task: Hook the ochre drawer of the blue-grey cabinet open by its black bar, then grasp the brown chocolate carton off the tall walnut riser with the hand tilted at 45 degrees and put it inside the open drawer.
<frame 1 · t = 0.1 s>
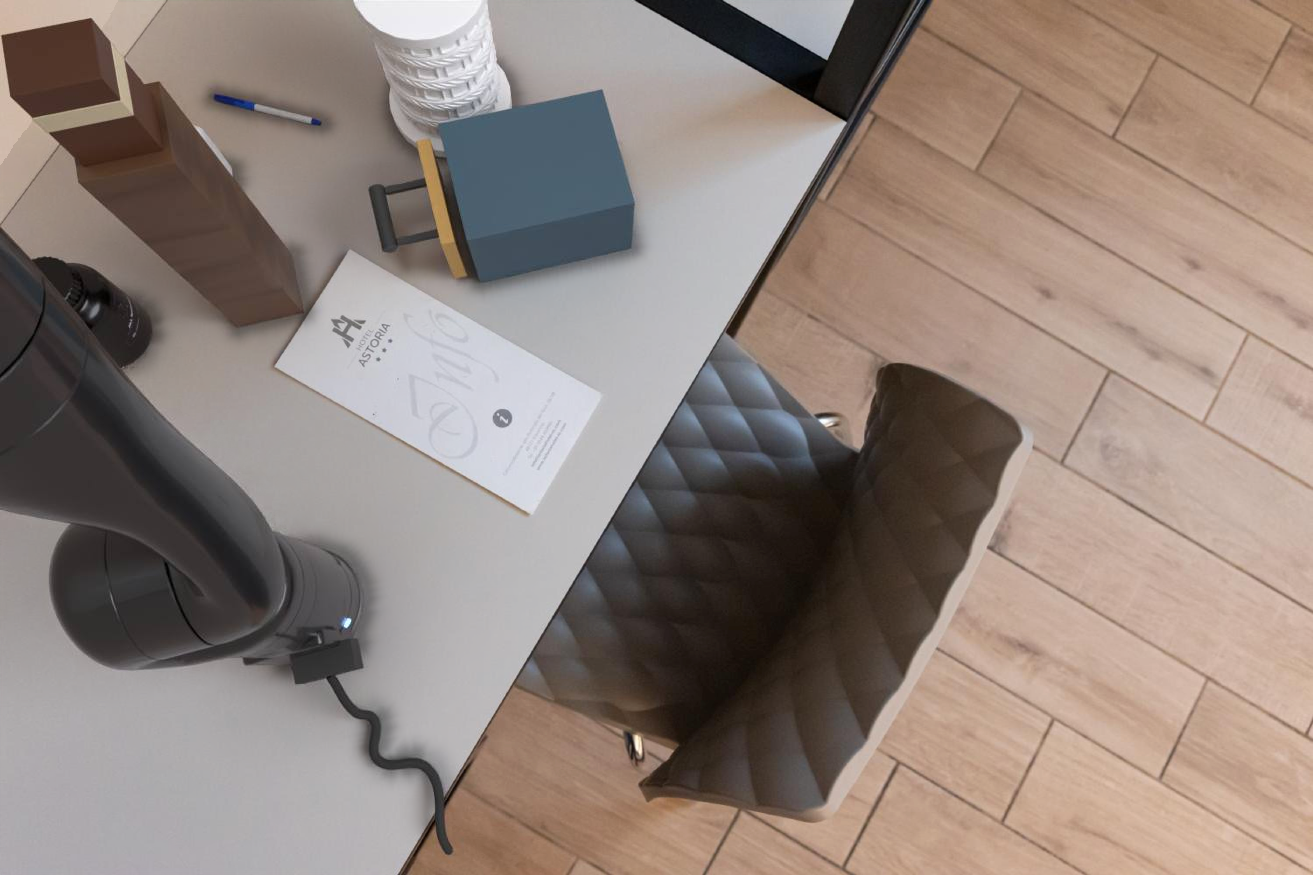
decorative container: (452, 105, 96), on the table
drawer: (481, 202, 88), point 5 cm above the table, slide at 1.0 cm
cabinet: (542, 212, 93), on the table
supplement bottle: (117, 335, 89), on the table
eye dropper bottle: (205, 182, 92), on the table
riser: (265, 290, 90), on the table
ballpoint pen: (269, 113, 95), on the table
chocolate carton: (119, 131, 63), point 28 cm above the table, touching riser
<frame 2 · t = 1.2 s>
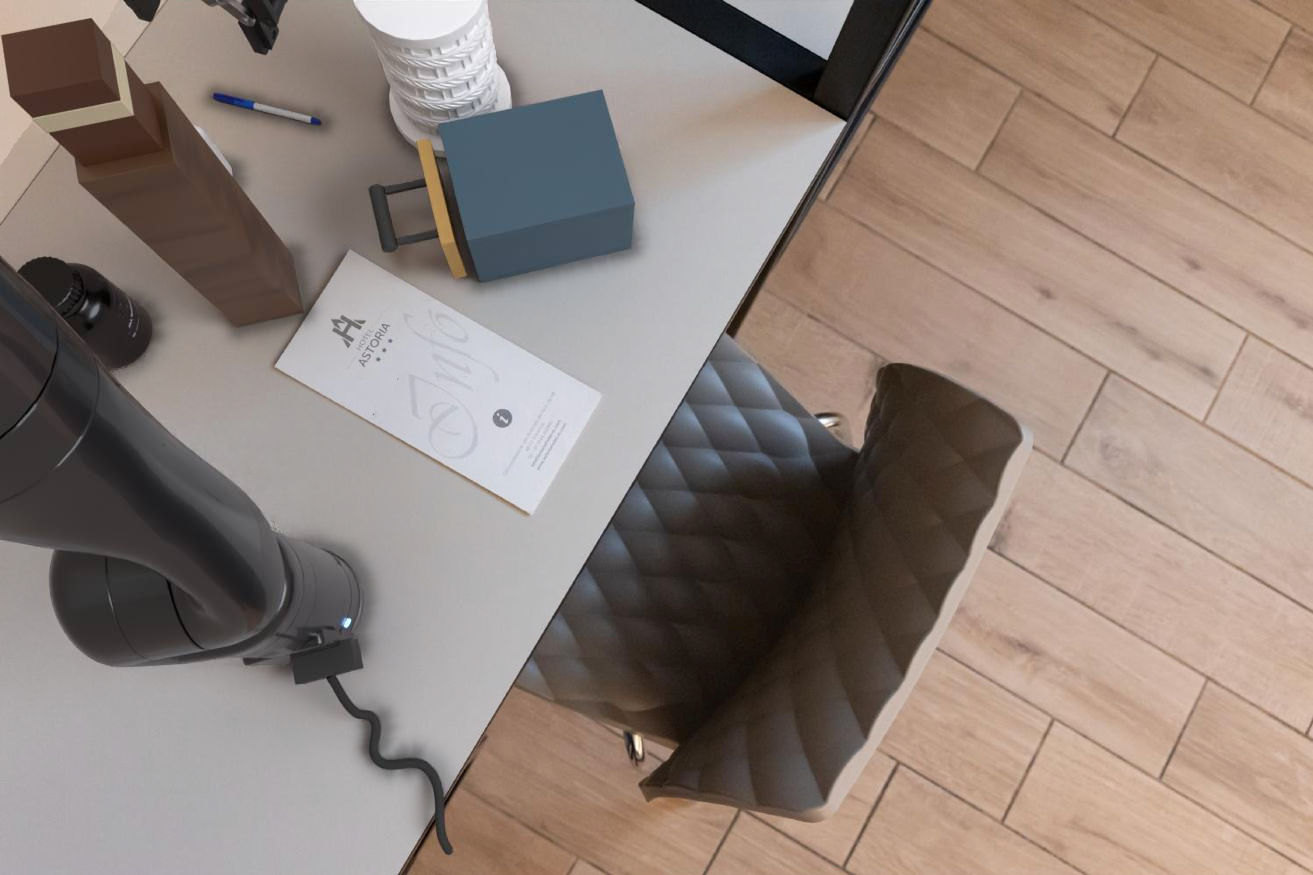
hand: (209, 27, 70), 23 cm above the table, tool pointing down, fingers open, 8 cm apart
nothing on the table moved.
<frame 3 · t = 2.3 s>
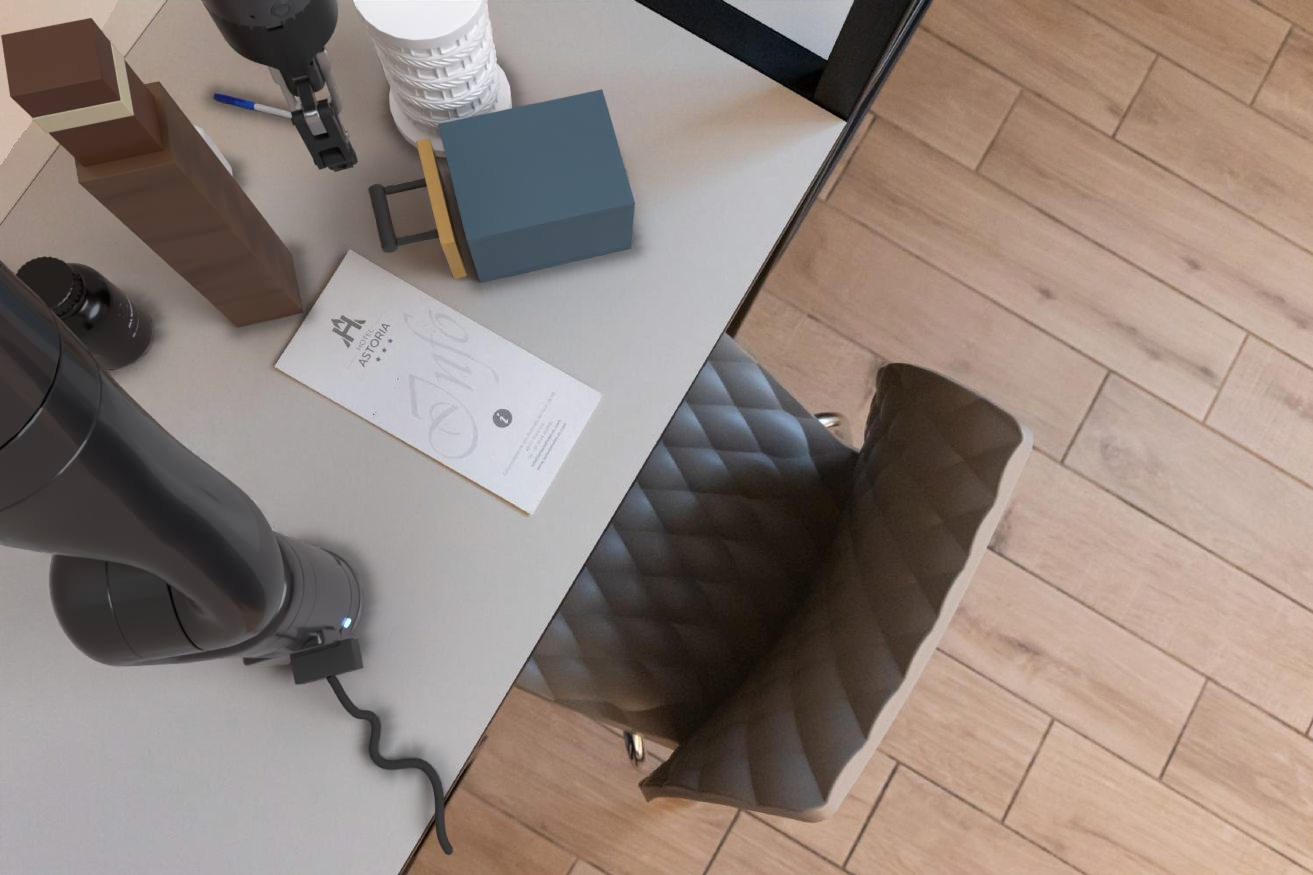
hand: (329, 114, 74), 19 cm above the table, tool pointing down, fingers open, 8 cm apart
nothing on the table moved.
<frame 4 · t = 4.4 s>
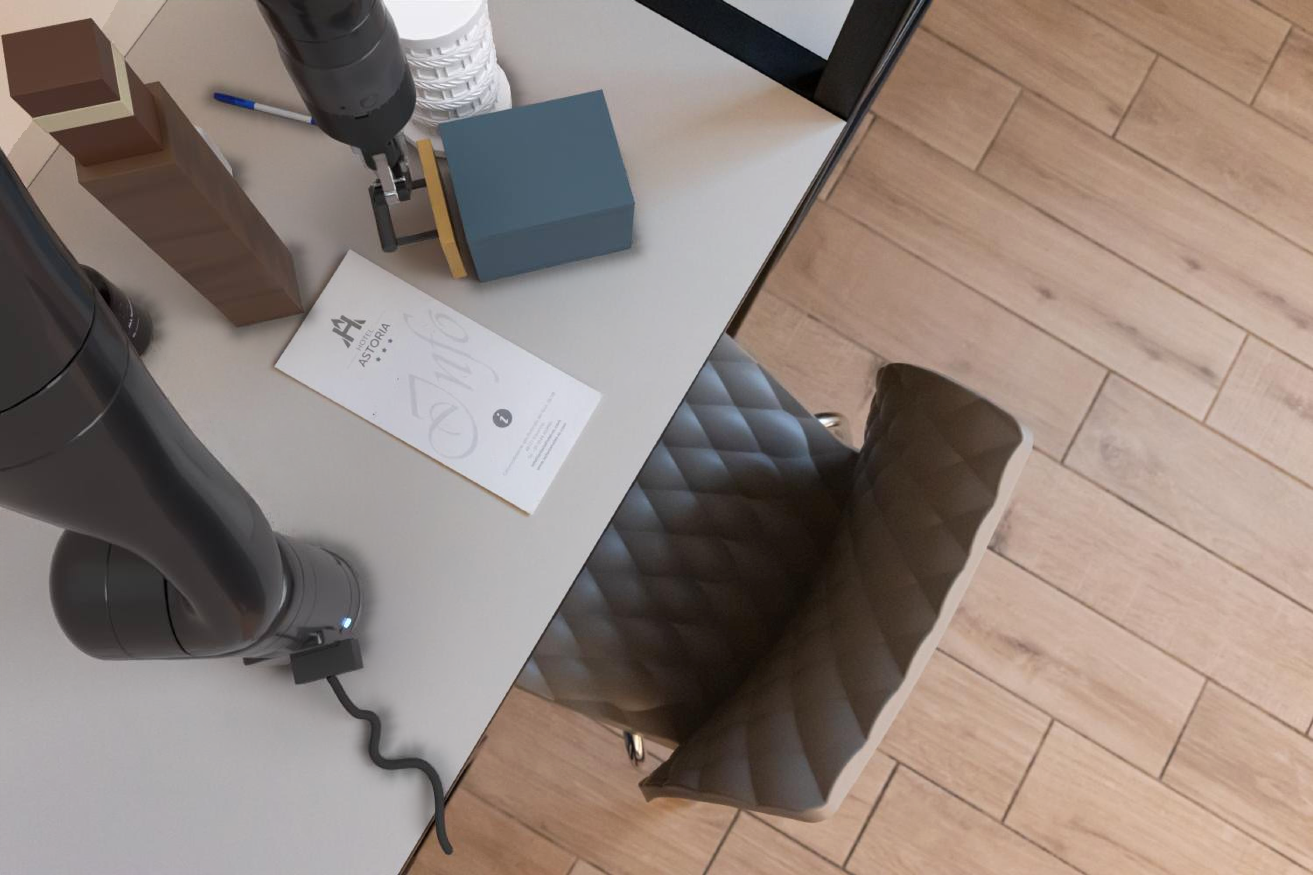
hand: (399, 183, 82), 11 cm above the table, tool pointing down, fingers closed
nothing on the table moved.
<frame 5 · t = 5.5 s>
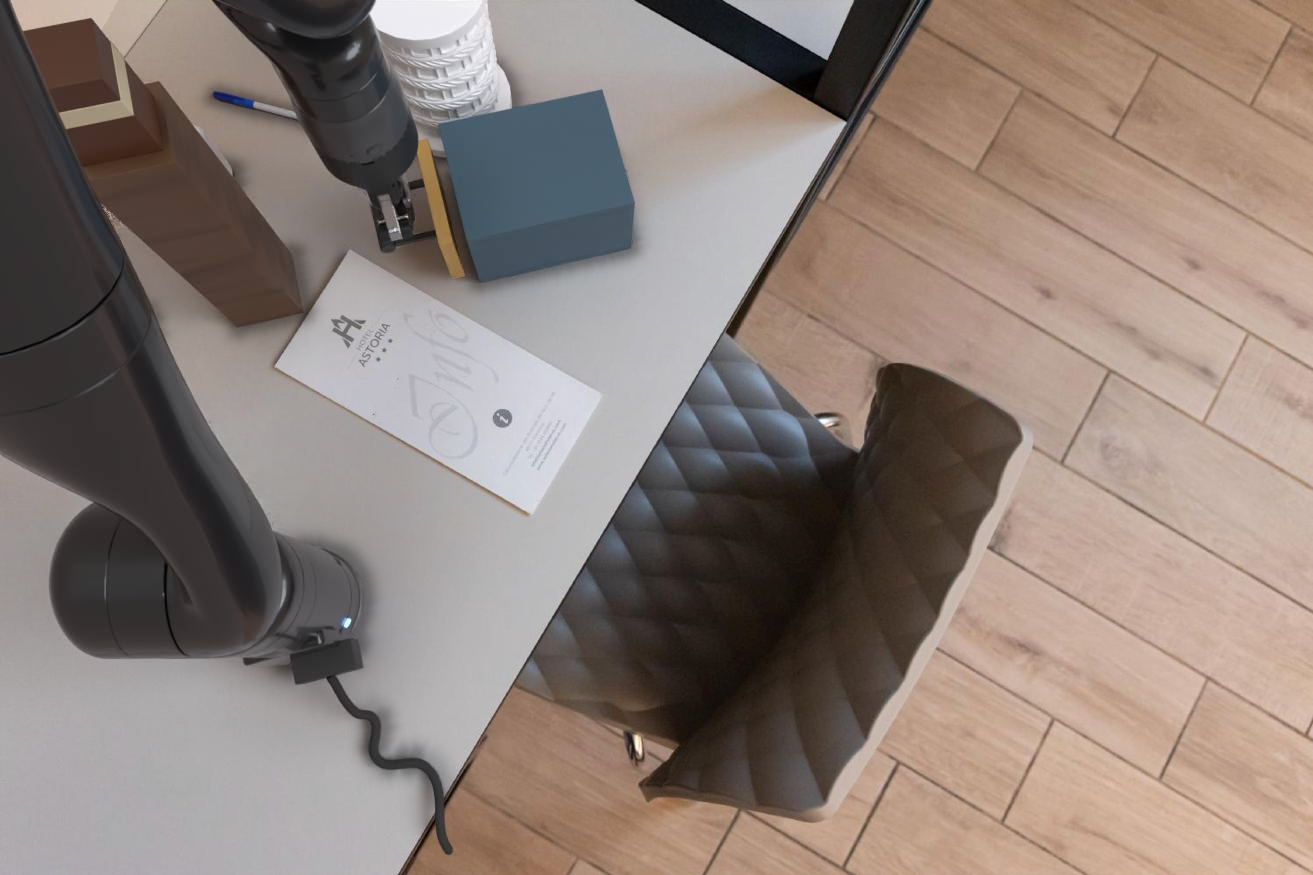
hand: (402, 216, 87), 5 cm above the table, tool pointing down, fingers closed
drawer: (479, 202, 88), point 5 cm above the table, slide at 1.2 cm, touching gripper
everything else where it was.
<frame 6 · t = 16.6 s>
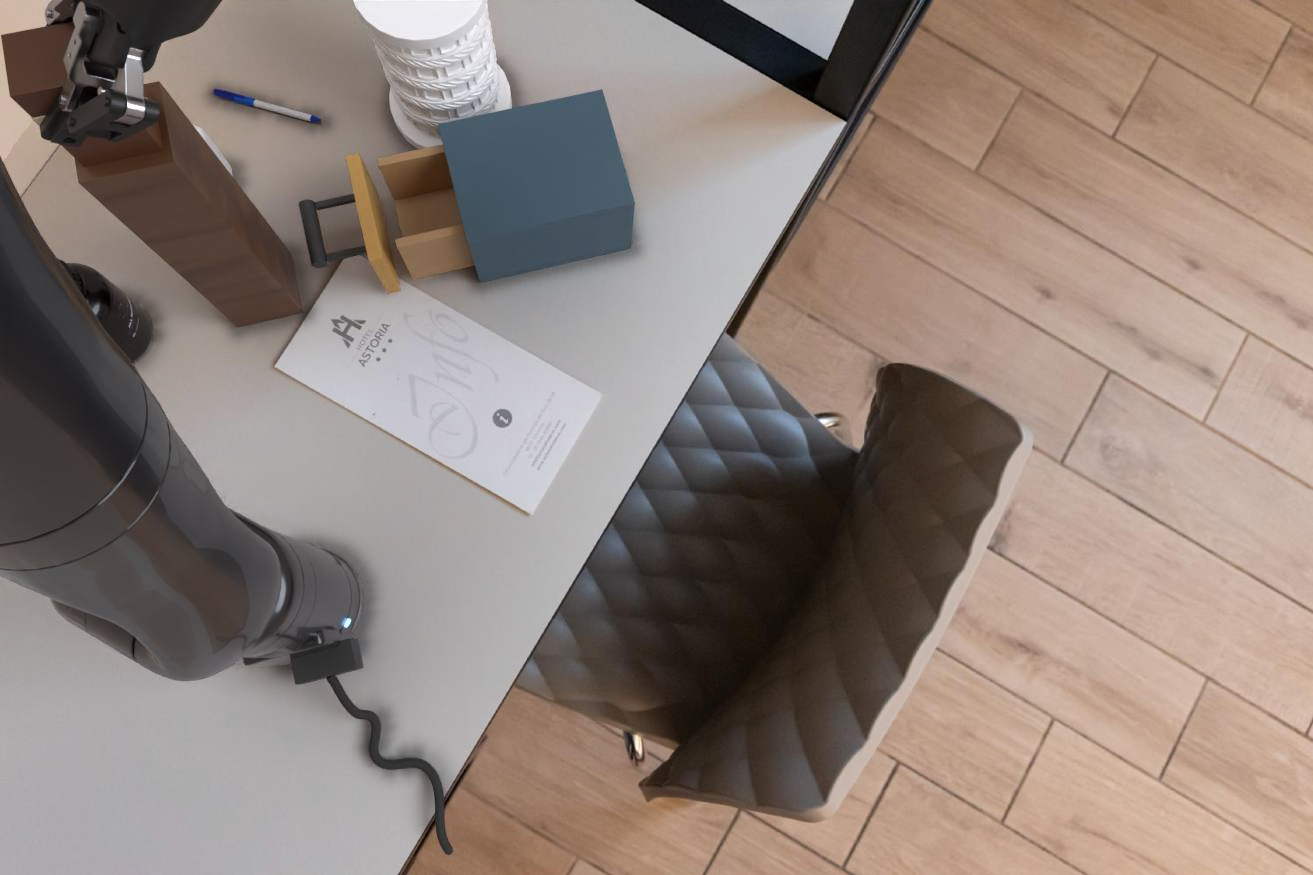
hand: (53, 102, 59), 32 cm above the table, tool tilted 45°, fingers closed on chocolate carton, 4 cm apart
drawer: (413, 217, 87), point 5 cm above the table, slide at 7.1 cm
chocolate carton: (119, 131, 63), point 28 cm above the table, touching gripper, riser
everything else where it was.
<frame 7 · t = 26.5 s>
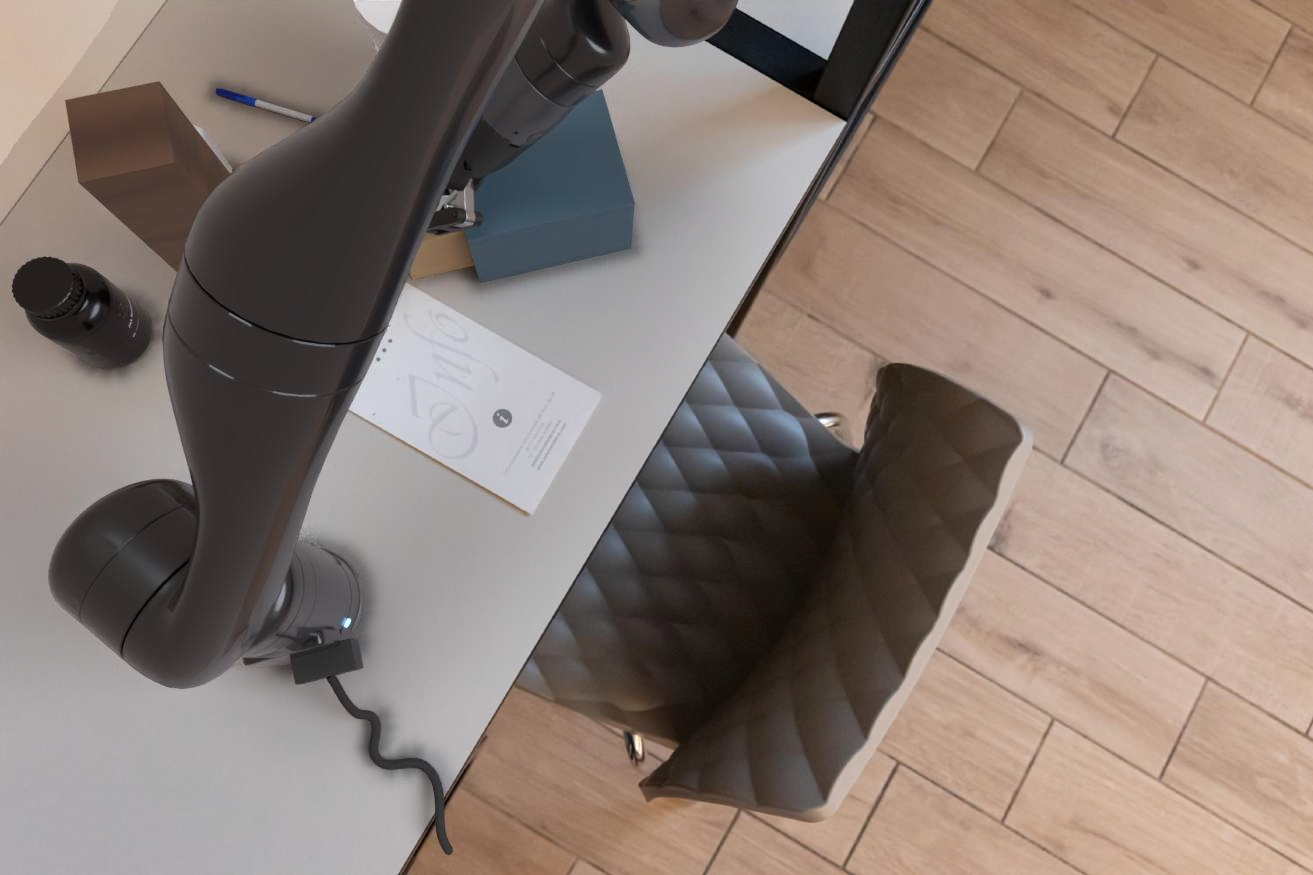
hand: (383, 204, 84), 8 cm above the table, tool tilted 45°, fingers closed on chocolate carton, 4 cm apart
chocolate carton: (415, 220, 88), point 4 cm above the table, touching gripper
everything else where it was.
when the fingers open (9 cm above the table, at t = 30.6 s): chocolate carton drops 3 cm, resting on drawer.
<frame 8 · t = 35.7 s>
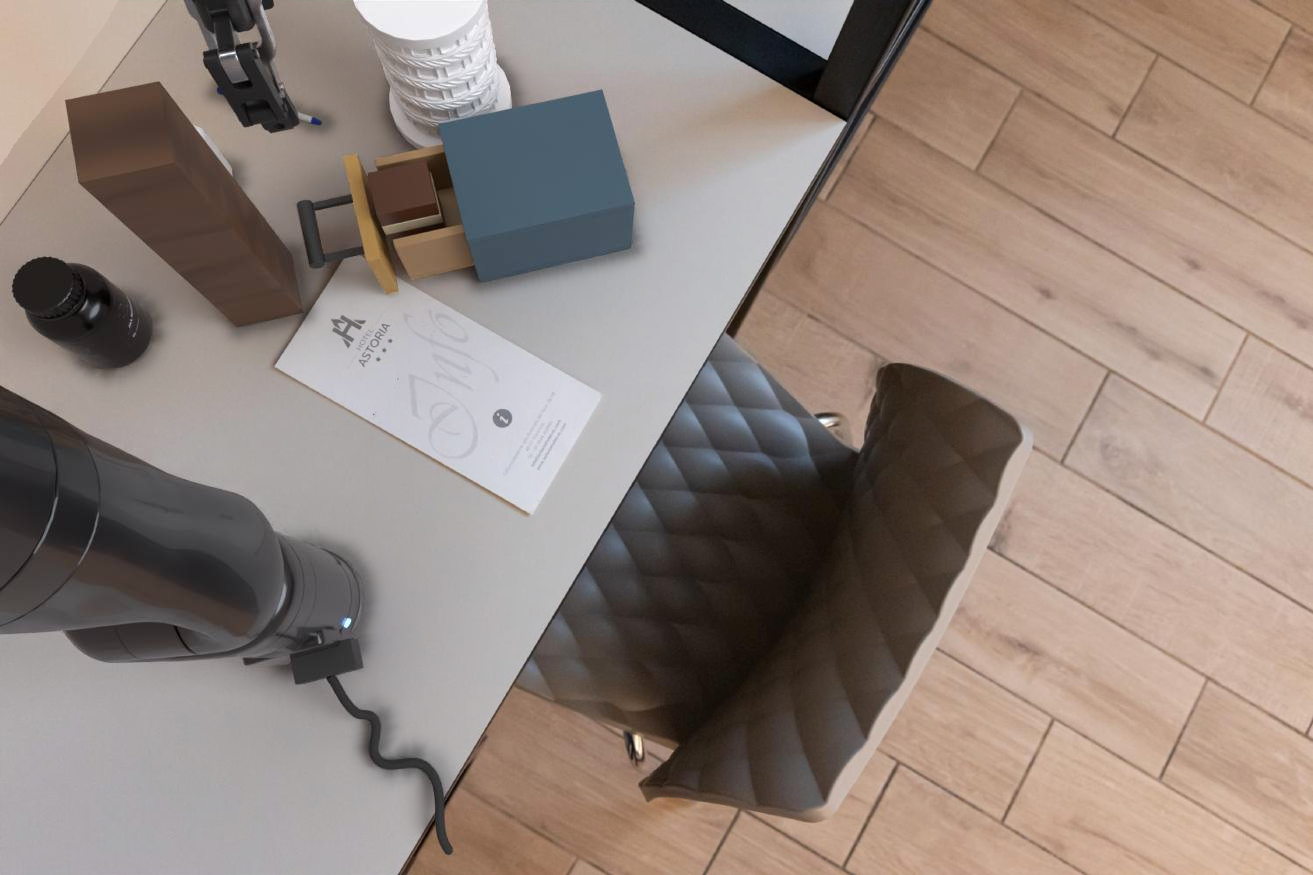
hand: (270, 65, 62), 30 cm above the table, tool pointing down, fingers open, 8 cm apart
drawer: (411, 217, 87), point 5 cm above the table, slide at 7.3 cm, touching chocolate carton
chocolate carton: (418, 228, 90), point 2 cm above the table, touching drawer
everything else where it was.
at the end: drawer slide at 7.3 cm; chocolate carton inside the target area in the drawer (0.5 cm from its centre), point 2.0 cm above the cabinet's base; the gripper is holding nothing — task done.
